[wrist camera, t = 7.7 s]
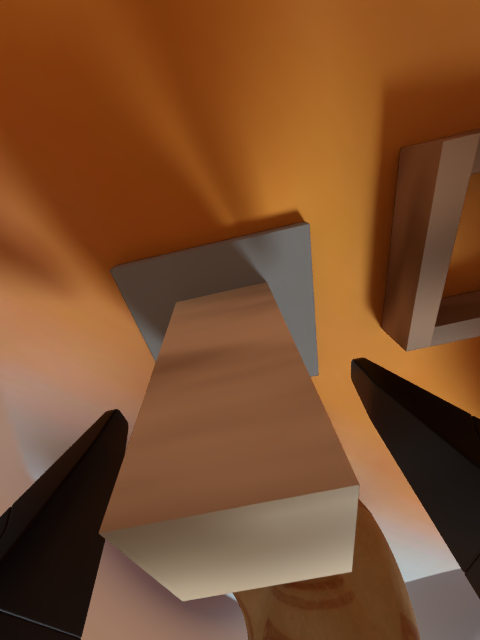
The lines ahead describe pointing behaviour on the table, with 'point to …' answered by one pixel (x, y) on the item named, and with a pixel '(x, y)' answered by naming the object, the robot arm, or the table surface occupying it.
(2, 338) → the table surface
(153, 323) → the felt pad
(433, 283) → the frame
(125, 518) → the maple block
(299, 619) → the ceramic vessel
